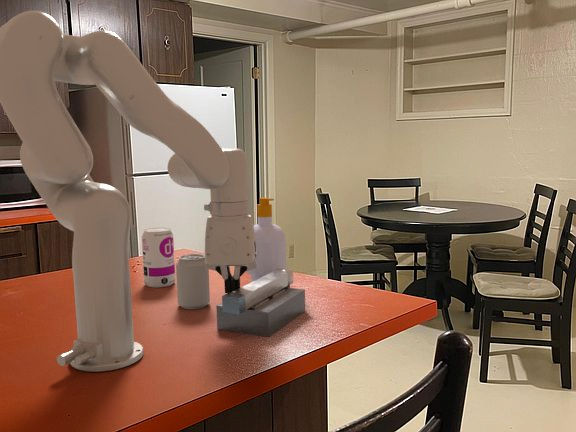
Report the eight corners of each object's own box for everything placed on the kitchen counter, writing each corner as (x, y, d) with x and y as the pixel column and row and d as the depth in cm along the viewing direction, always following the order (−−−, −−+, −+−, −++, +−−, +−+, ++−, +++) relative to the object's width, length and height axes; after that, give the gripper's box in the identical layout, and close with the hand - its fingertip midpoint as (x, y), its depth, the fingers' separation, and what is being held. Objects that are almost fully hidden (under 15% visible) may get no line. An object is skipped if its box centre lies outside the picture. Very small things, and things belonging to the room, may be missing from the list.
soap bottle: (263, 301, 135) (261, 201, 132) (238, 292, 143) (235, 198, 140) (295, 292, 142) (293, 197, 139) (269, 285, 150) (267, 195, 146)
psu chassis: (269, 336, 111) (268, 311, 110) (217, 329, 116) (216, 304, 115) (312, 306, 131) (311, 283, 130) (266, 300, 136) (265, 279, 135)
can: (203, 311, 128) (201, 259, 127) (172, 309, 130) (170, 258, 128) (214, 301, 136) (212, 252, 134) (185, 300, 137) (182, 252, 135)
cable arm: (239, 314, 108) (239, 298, 108) (222, 311, 110) (221, 296, 109) (296, 281, 132) (295, 268, 131) (280, 280, 133) (280, 267, 133)
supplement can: (181, 282, 154) (179, 228, 152) (159, 289, 147) (156, 233, 145) (160, 279, 158) (157, 226, 156) (138, 285, 152) (134, 230, 150)
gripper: (188, 212, 112) (192, 301, 115) (262, 211, 110) (265, 302, 113) (198, 207, 119) (202, 291, 122) (268, 206, 118) (270, 292, 120)
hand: (232, 296), depth 118 cm, fingers closed
